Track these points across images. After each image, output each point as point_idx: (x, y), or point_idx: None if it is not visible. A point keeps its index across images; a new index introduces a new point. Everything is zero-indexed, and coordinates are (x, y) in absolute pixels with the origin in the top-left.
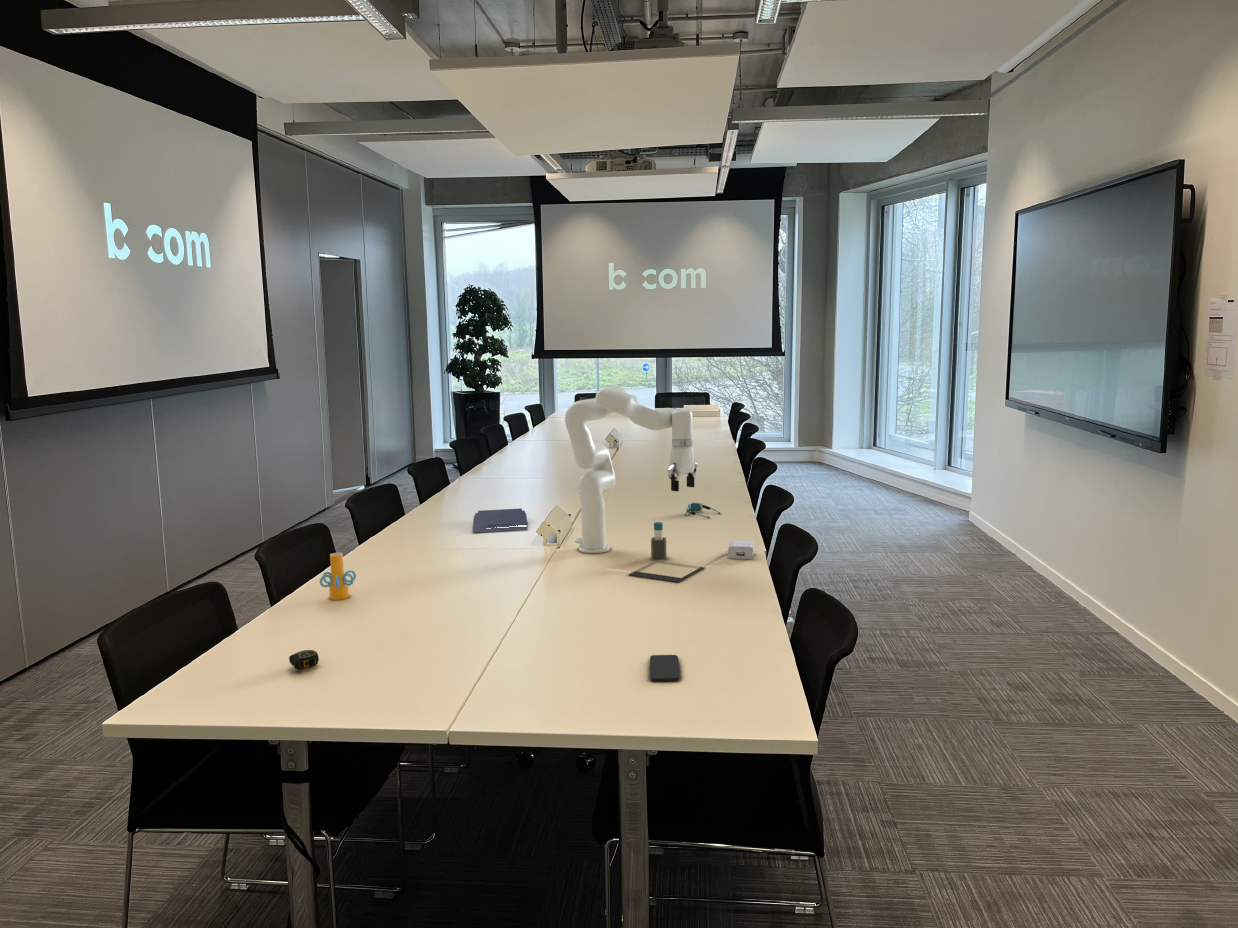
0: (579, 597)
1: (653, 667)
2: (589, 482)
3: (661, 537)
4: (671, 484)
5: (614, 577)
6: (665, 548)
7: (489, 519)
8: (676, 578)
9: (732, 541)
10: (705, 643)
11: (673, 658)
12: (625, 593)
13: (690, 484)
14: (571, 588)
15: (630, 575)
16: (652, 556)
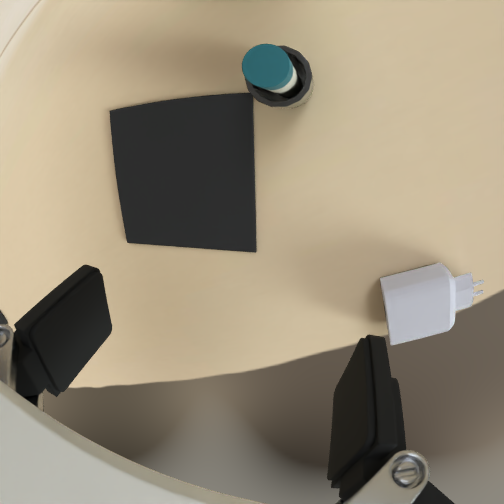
0: (7, 134)
1: None
2: None
3: (272, 91)
4: (48, 301)
5: (88, 94)
6: (283, 107)
7: None
8: (140, 228)
9: (444, 285)
10: None
11: (3, 322)
12: (42, 184)
13: (344, 391)
14: (22, 86)
15: (111, 115)
16: None
